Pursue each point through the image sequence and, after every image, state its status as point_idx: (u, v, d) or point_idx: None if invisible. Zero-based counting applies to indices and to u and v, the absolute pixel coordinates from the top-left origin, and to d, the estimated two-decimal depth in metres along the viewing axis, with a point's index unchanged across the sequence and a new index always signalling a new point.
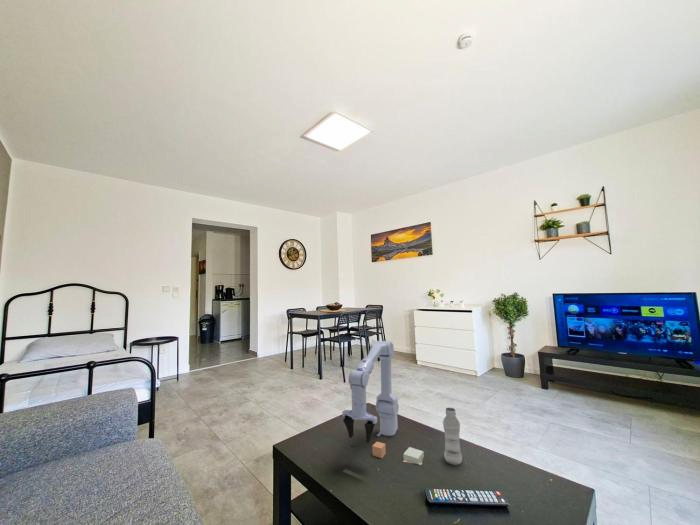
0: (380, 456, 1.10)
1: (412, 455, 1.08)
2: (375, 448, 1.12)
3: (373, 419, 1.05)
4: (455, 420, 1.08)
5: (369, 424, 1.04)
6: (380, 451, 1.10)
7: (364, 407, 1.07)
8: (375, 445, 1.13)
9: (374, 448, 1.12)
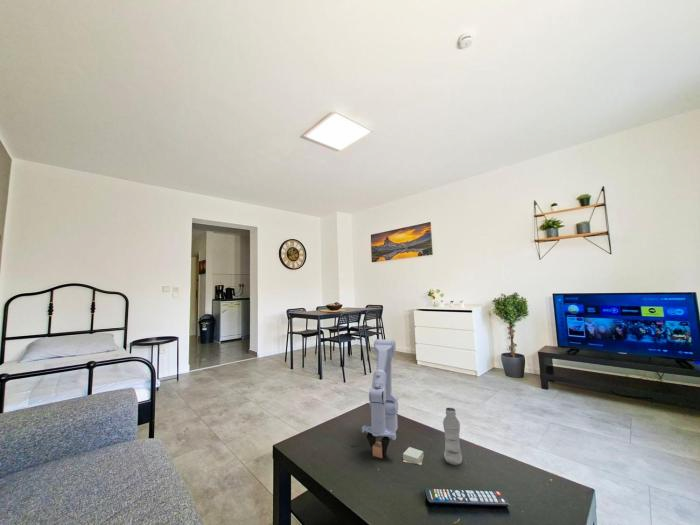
0: (380, 456, 1.10)
1: (412, 455, 1.08)
2: (375, 448, 1.12)
3: (392, 435, 1.10)
4: (455, 420, 1.08)
5: (385, 439, 1.10)
6: (380, 451, 1.10)
7: (383, 424, 1.12)
8: (375, 445, 1.13)
9: (374, 448, 1.12)
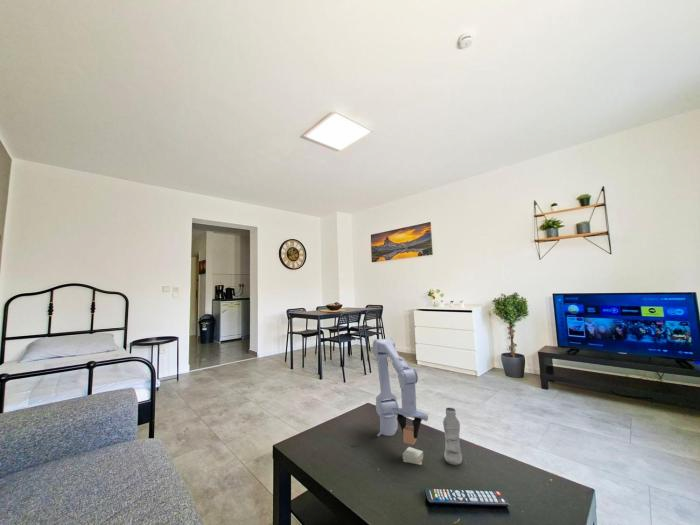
0: (411, 439, 1.08)
1: (411, 455, 1.08)
2: (406, 431, 1.09)
3: (424, 416, 1.08)
4: (455, 420, 1.08)
5: (417, 420, 1.08)
6: (411, 434, 1.08)
7: (414, 405, 1.10)
8: (406, 428, 1.10)
9: (405, 431, 1.10)
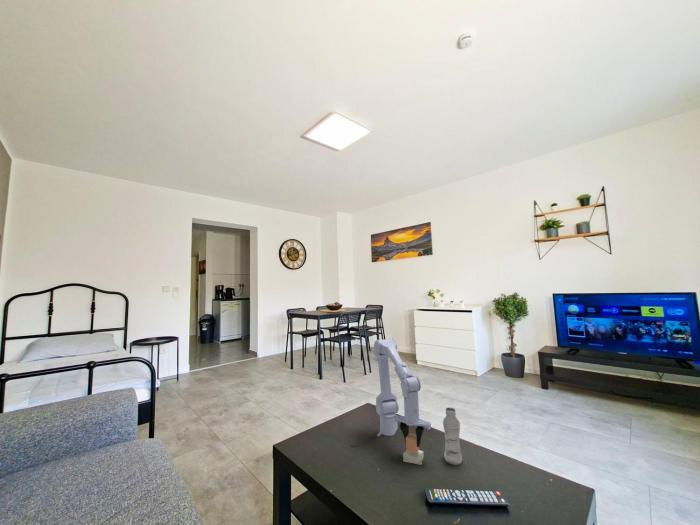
0: (414, 448, 1.07)
1: (412, 455, 1.08)
2: (409, 439, 1.09)
3: (427, 425, 1.07)
4: (455, 420, 1.08)
5: (420, 429, 1.08)
6: (414, 443, 1.08)
7: (417, 413, 1.10)
8: (408, 436, 1.10)
9: (408, 439, 1.09)
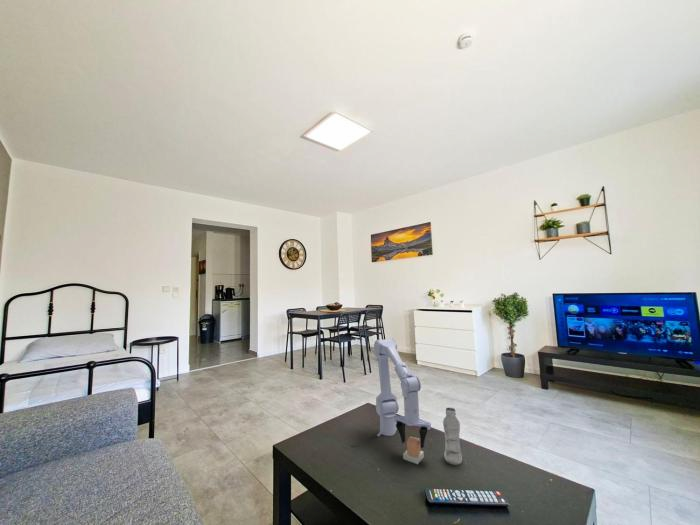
0: (415, 451, 1.07)
1: None
2: (410, 443, 1.09)
3: (427, 425, 1.07)
4: (455, 420, 1.08)
5: (424, 430, 1.07)
6: (415, 447, 1.07)
7: (417, 413, 1.10)
8: (409, 440, 1.10)
9: (409, 443, 1.09)
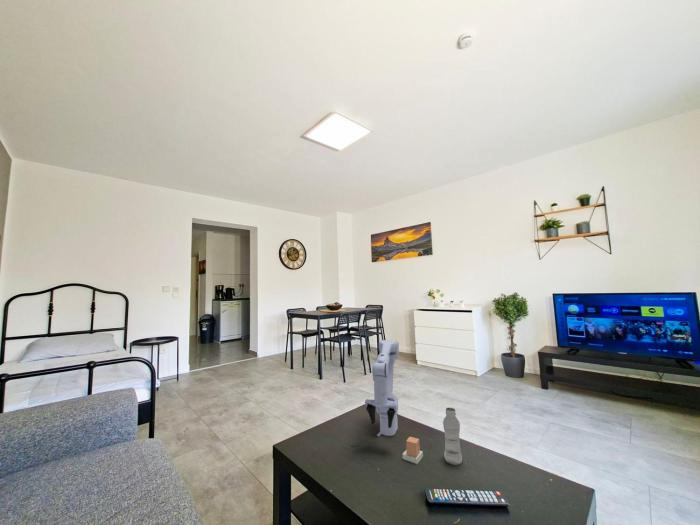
0: (414, 451, 1.07)
1: None
2: (409, 443, 1.09)
3: (394, 406, 1.16)
4: (455, 420, 1.08)
5: (391, 411, 1.15)
6: (414, 447, 1.08)
7: (386, 396, 1.18)
8: (409, 440, 1.10)
9: (408, 443, 1.09)
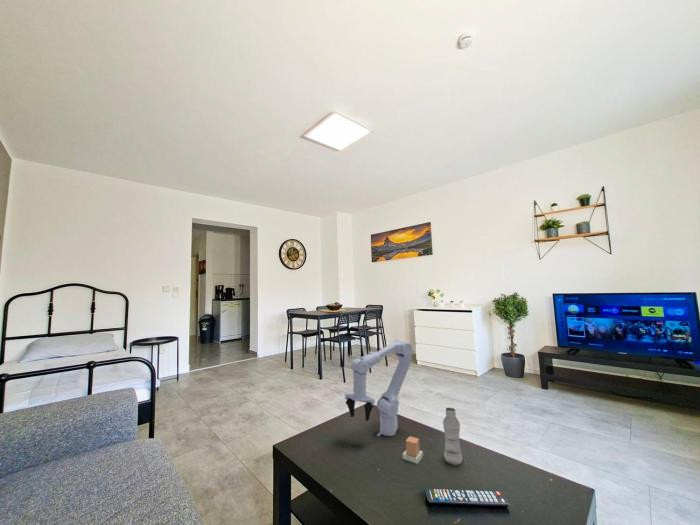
0: (414, 451, 1.08)
1: None
2: (409, 443, 1.09)
3: (371, 401, 1.22)
4: (455, 420, 1.08)
5: (368, 405, 1.22)
6: (414, 446, 1.08)
7: (364, 391, 1.25)
8: (409, 440, 1.10)
9: (408, 443, 1.09)
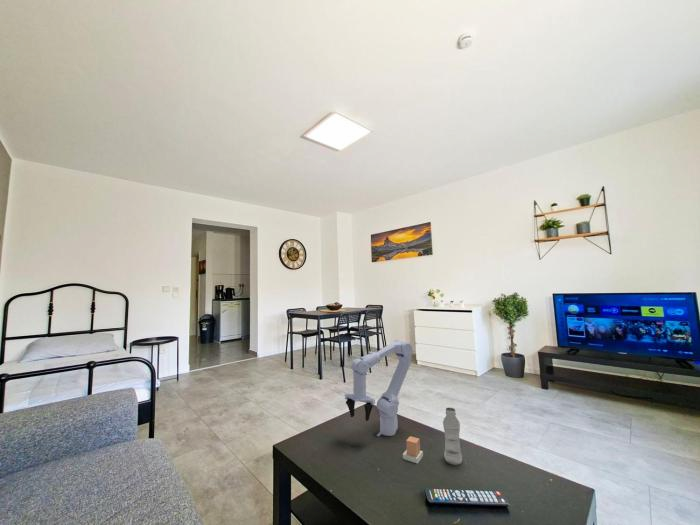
0: (414, 451, 1.08)
1: (411, 455, 1.08)
2: (409, 442, 1.09)
3: (371, 401, 1.22)
4: (455, 420, 1.08)
5: (368, 405, 1.22)
6: (414, 446, 1.08)
7: (364, 391, 1.25)
8: (409, 439, 1.10)
9: (408, 442, 1.09)
